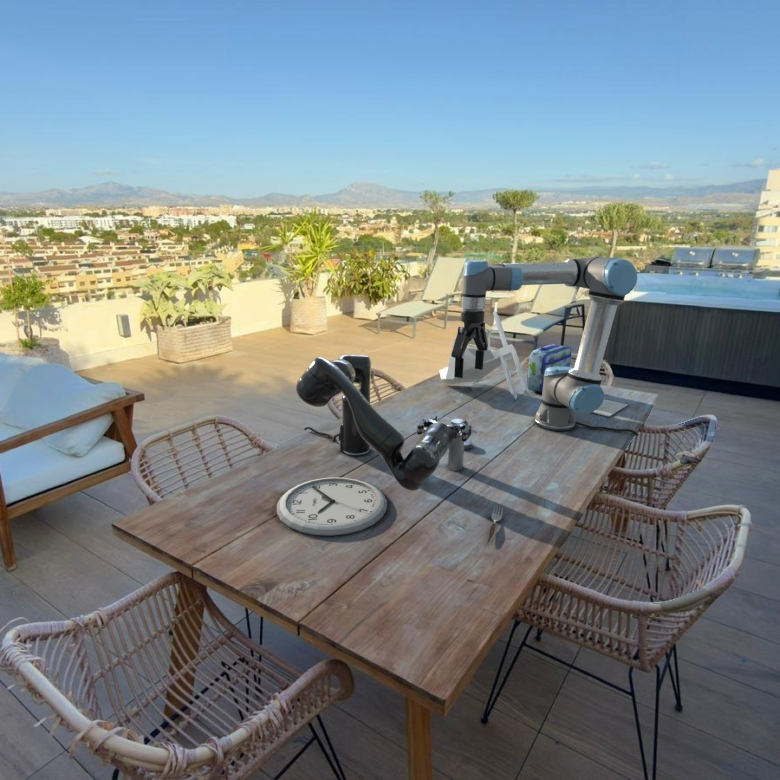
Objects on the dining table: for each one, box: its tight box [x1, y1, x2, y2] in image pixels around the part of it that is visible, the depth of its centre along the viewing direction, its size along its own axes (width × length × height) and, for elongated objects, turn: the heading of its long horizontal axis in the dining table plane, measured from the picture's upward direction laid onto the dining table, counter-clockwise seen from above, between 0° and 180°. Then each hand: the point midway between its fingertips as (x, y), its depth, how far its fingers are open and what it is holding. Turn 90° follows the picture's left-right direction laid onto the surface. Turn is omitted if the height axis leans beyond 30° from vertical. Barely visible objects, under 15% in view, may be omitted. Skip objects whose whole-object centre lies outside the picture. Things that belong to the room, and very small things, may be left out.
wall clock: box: [276, 476, 388, 537], centre depth 142 cm, size 30×2×30 cm
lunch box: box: [526, 343, 572, 394], centre depth 247 cm, size 26×11×21 cm, turn 134°
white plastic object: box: [438, 310, 531, 400], centre depth 245 cm, size 37×45×31 cm
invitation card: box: [591, 398, 629, 418], centre depth 226 cm, size 21×1×15 cm
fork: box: [487, 505, 504, 543], centre depth 133 cm, size 3×16×2 cm, turn 160°
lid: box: [464, 438, 473, 451], centre depth 183 cm, size 6×6×2 cm
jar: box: [447, 418, 465, 472], centre depth 164 cm, size 5×5×16 cm
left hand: (450, 420), depth 150 cm, fingers open, 8 cm apart
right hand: (468, 373), depth 175 cm, fingers open, 13 cm apart
